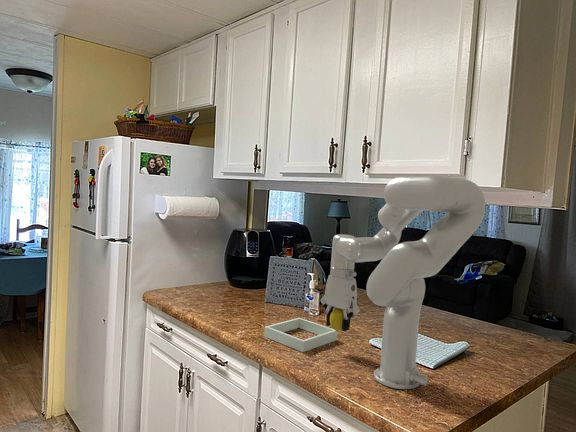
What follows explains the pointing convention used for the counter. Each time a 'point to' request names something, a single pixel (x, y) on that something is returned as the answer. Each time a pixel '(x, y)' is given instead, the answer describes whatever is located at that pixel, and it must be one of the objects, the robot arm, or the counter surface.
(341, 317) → the lemon
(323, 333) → the pale green square frame
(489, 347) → the counter surface
